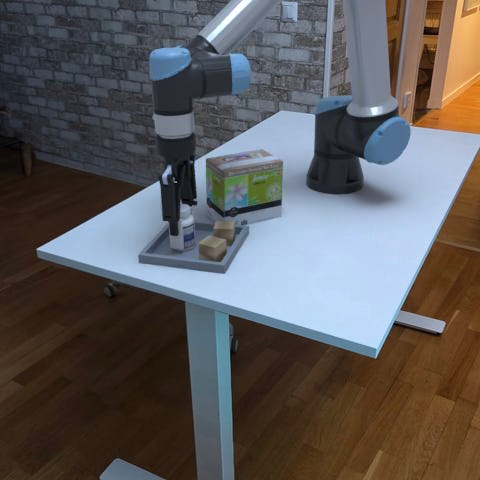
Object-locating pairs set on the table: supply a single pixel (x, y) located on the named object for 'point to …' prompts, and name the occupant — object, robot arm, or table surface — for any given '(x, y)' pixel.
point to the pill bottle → (187, 228)
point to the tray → (191, 250)
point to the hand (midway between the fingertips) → (182, 240)
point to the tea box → (244, 187)
